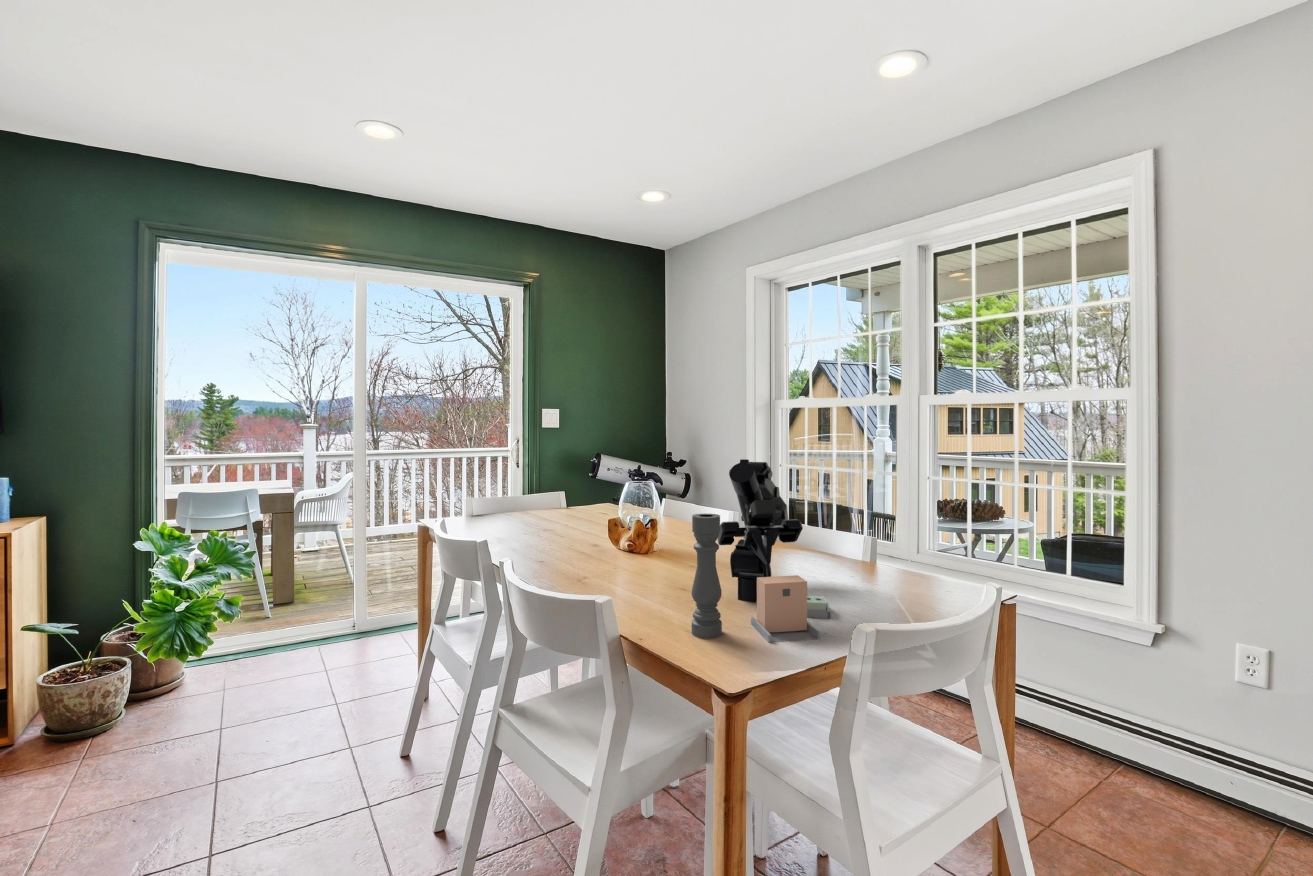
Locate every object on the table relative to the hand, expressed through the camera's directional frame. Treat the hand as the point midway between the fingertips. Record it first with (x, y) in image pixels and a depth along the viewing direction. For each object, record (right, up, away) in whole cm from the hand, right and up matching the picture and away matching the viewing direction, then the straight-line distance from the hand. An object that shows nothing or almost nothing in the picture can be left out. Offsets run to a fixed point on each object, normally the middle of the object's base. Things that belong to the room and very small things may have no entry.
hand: (768, 564), depth 140 cm
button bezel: (+11, -12, +3) cm, 17 cm away
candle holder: (-14, -13, -10) cm, 22 cm away
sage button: (+11, -11, +3) cm, 16 cm away
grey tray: (+2, -13, -9) cm, 16 cm away
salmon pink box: (+1, -12, -7) cm, 14 cm away
